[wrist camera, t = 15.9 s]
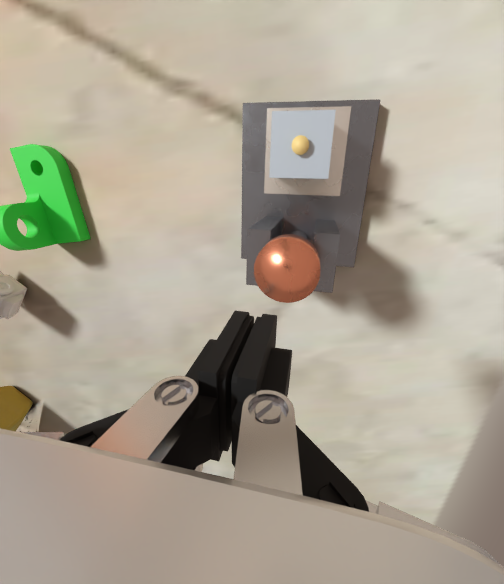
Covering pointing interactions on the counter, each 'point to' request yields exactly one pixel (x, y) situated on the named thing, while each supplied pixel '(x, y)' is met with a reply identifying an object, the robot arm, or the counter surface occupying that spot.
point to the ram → (288, 267)
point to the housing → (301, 144)
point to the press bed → (308, 186)
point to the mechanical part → (43, 202)
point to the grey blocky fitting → (10, 296)
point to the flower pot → (12, 407)
